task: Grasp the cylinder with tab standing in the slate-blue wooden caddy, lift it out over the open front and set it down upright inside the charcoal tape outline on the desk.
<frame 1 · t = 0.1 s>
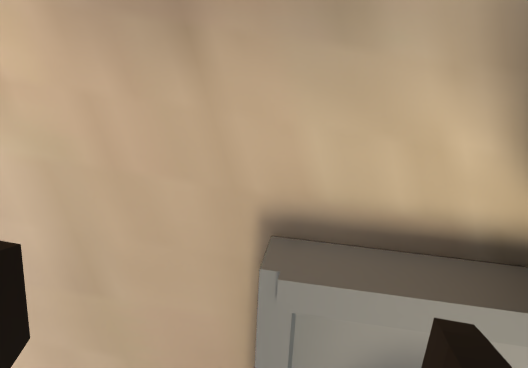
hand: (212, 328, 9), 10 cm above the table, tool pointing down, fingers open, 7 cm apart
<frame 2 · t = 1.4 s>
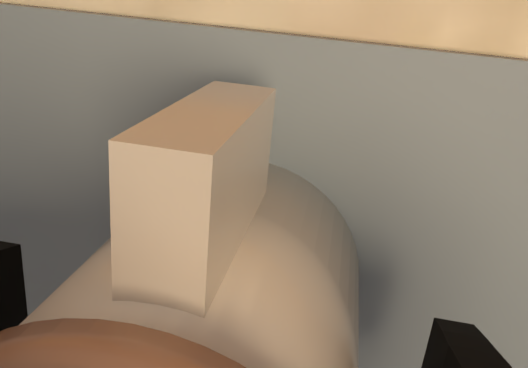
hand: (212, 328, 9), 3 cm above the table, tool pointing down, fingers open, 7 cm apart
caddy: (245, 295, 11), on the table
cylinder with tab: (244, 266, 11), resting on caddy
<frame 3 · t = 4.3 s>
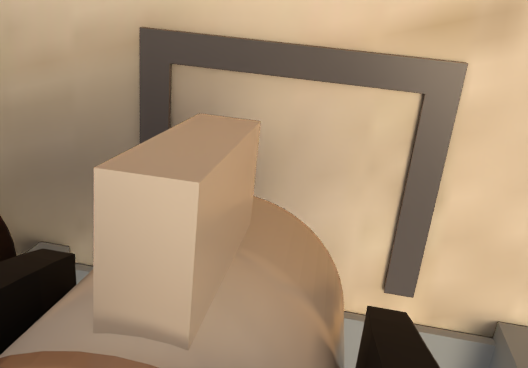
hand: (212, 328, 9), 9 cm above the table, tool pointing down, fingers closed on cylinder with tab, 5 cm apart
tape outline: (283, 167, 17), on the table
cylinder with tab: (227, 301, 10), point 7 cm above the table, touching gripper
when the fingers open (3 cm above the table, at t = 6.2 s): cylinder with tab drops 1 cm, on the table.
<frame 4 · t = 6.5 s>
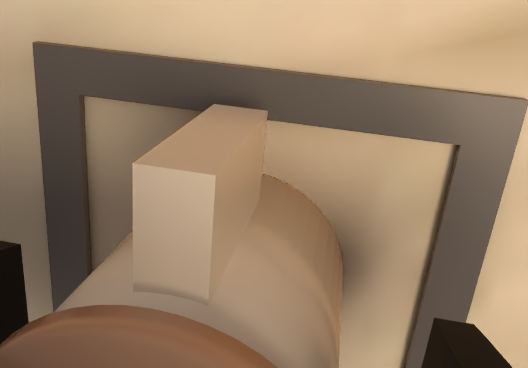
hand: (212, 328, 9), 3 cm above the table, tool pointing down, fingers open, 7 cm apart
tape outline: (250, 243, 12), on the table
cylinder with tab: (240, 265, 12), on the table
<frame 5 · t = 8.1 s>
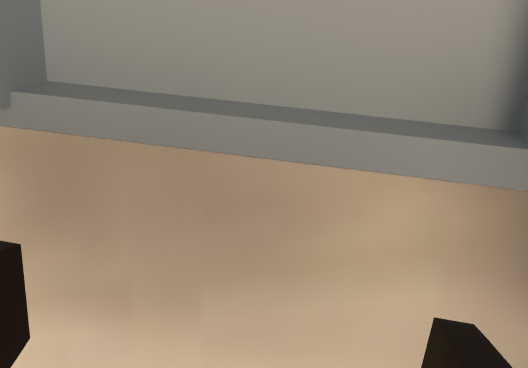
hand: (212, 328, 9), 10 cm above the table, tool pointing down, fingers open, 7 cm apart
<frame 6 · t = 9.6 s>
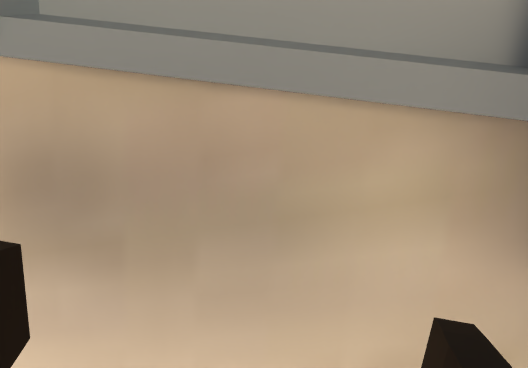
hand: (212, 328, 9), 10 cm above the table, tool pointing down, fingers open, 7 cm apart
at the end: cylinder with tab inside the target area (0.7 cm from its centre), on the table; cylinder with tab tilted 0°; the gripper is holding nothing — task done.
